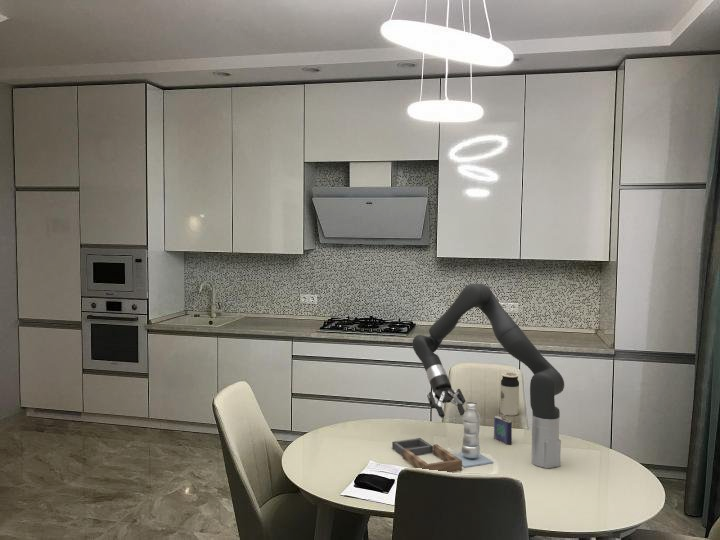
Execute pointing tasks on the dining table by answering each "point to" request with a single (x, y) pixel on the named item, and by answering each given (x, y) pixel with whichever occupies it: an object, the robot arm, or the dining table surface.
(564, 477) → the dining table surface
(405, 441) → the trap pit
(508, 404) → the travel mug
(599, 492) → the dining table surface
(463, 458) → the pad
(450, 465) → the walled lane
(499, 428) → the flask
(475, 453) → the plastic bottle
